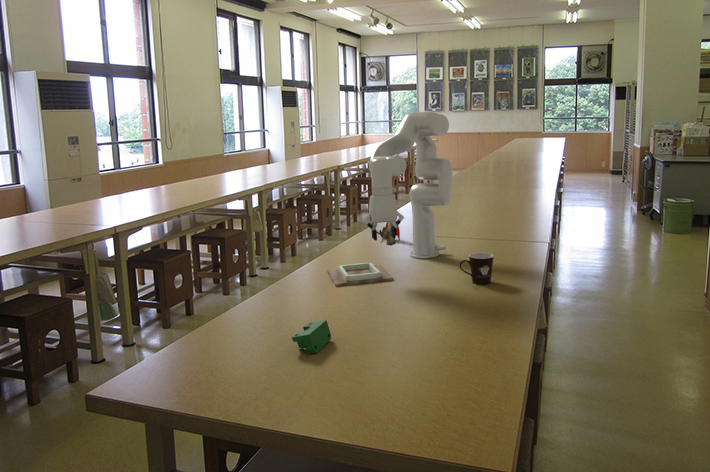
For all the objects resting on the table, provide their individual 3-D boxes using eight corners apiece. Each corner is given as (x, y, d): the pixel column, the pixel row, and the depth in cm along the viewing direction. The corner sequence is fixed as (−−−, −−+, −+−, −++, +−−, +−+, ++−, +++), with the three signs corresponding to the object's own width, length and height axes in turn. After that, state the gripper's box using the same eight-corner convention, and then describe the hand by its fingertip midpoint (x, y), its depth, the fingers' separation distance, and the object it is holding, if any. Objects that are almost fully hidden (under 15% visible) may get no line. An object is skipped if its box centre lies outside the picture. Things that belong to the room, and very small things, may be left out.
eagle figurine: (369, 239, 211) (377, 239, 203) (377, 222, 212) (385, 221, 204) (386, 248, 213) (395, 248, 205) (394, 231, 214) (403, 231, 206)
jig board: (380, 267, 230) (380, 260, 229) (393, 280, 211) (393, 272, 210) (327, 272, 226) (327, 265, 225) (335, 286, 207) (335, 278, 206)
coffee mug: (494, 279, 206) (494, 253, 204) (492, 286, 198) (492, 258, 196) (462, 278, 209) (462, 252, 207) (459, 284, 201) (458, 257, 199)
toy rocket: (400, 240, 278) (398, 180, 272) (391, 242, 275) (389, 181, 269) (393, 238, 282) (391, 179, 276) (384, 240, 279) (382, 180, 273)
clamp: (314, 355, 158) (311, 323, 161) (332, 352, 156) (329, 320, 158) (290, 355, 148) (288, 321, 150) (310, 352, 145) (307, 317, 148)
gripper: (401, 188, 213) (403, 234, 217) (357, 192, 209) (359, 239, 213) (407, 191, 206) (409, 238, 209) (362, 195, 202) (364, 243, 206)
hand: (384, 238), depth 211 cm, fingers closed on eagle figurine, 6 cm apart
